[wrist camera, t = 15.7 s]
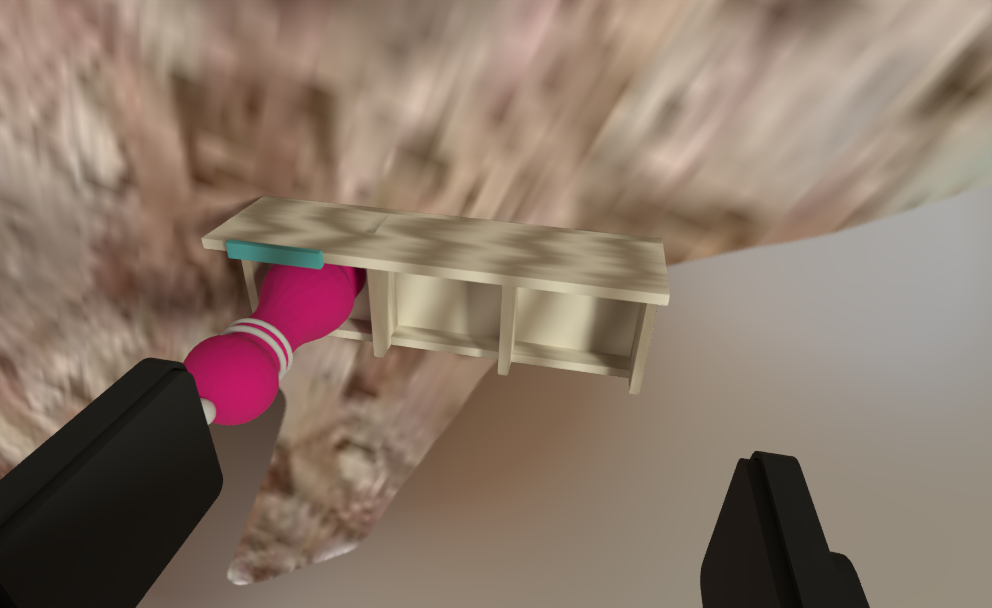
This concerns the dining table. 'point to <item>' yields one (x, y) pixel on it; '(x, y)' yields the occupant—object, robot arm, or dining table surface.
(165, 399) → the robot arm
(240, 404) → the pepper mill
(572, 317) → the rack
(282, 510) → the dining table surface
